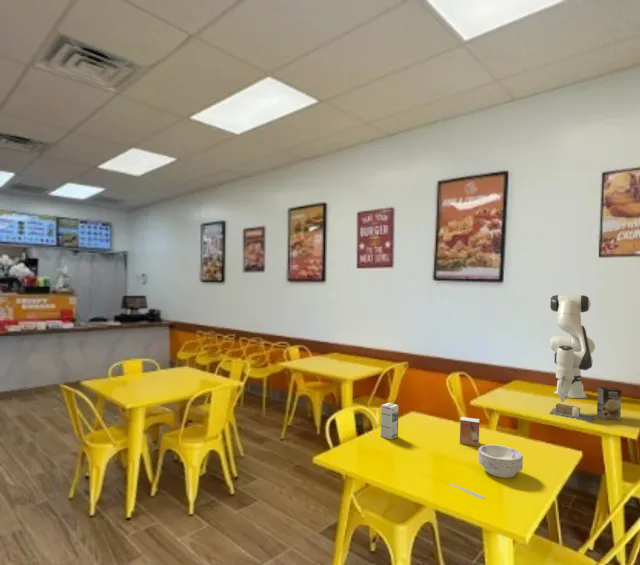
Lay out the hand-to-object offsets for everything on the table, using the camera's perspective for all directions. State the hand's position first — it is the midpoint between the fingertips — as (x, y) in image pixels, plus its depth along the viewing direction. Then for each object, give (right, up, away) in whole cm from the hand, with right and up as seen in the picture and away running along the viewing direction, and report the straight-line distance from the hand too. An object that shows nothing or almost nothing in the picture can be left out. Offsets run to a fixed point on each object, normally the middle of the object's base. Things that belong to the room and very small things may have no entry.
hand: (564, 399), depth 235 cm
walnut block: (-3, -5, +2) cm, 6 cm away
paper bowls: (-70, -5, -79) cm, 106 cm away
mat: (+3, -8, -3) cm, 9 cm away
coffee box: (+22, -9, -5) cm, 24 cm away
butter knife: (-93, -5, -89) cm, 128 cm away
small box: (-71, -5, -50) cm, 87 cm away
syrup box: (-106, -4, -45) cm, 115 cm away
